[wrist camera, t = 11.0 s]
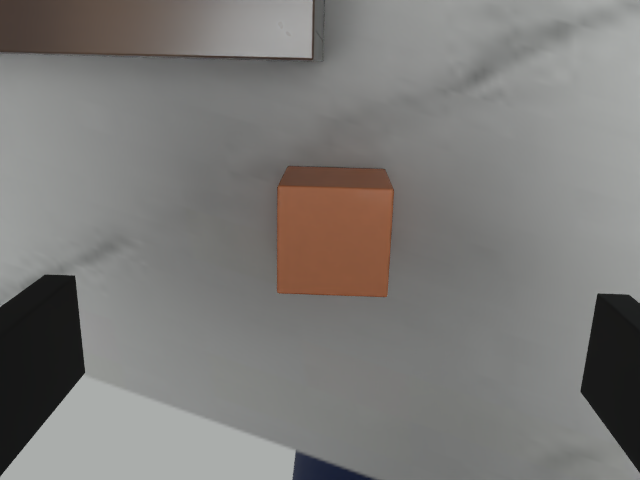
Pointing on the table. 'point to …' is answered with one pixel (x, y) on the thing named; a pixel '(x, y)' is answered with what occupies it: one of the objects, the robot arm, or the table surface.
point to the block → (334, 231)
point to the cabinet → (165, 28)
